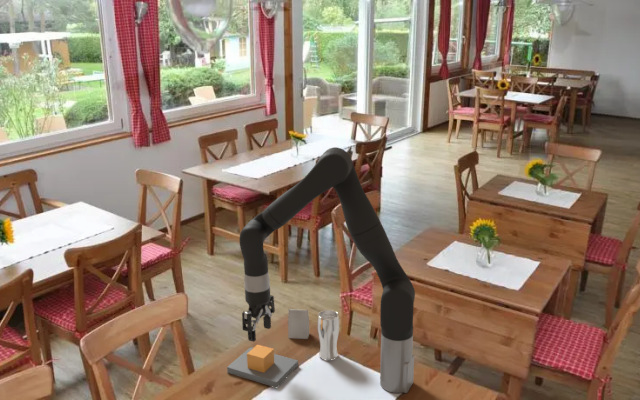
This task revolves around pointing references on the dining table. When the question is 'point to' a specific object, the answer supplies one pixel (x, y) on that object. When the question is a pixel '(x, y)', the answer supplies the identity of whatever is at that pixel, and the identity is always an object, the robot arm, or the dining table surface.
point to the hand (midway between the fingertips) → (260, 334)
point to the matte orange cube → (260, 358)
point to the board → (270, 376)
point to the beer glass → (328, 333)
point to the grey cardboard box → (298, 324)
